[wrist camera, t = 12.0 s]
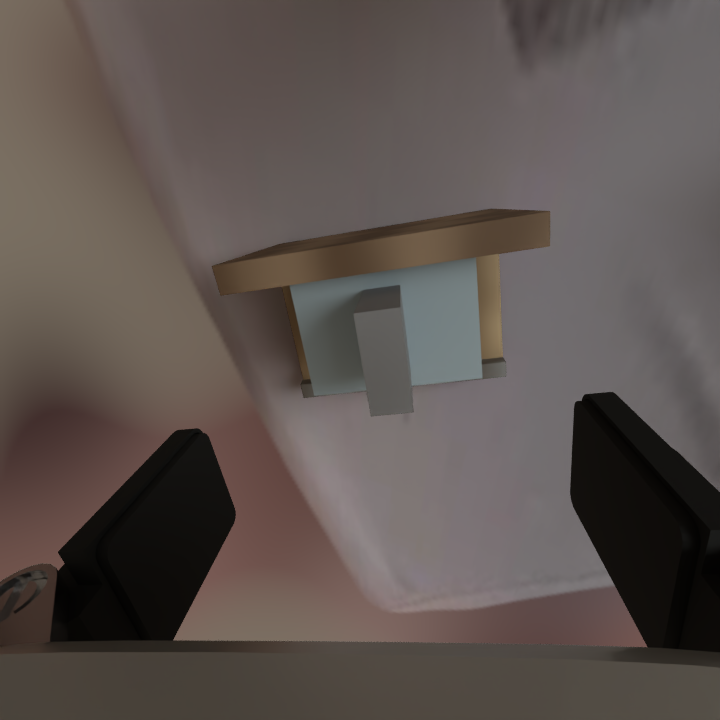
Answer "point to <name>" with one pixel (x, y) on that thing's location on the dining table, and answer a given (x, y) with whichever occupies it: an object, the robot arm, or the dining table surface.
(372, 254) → the cleat board
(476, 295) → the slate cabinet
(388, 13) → the dining table surface
